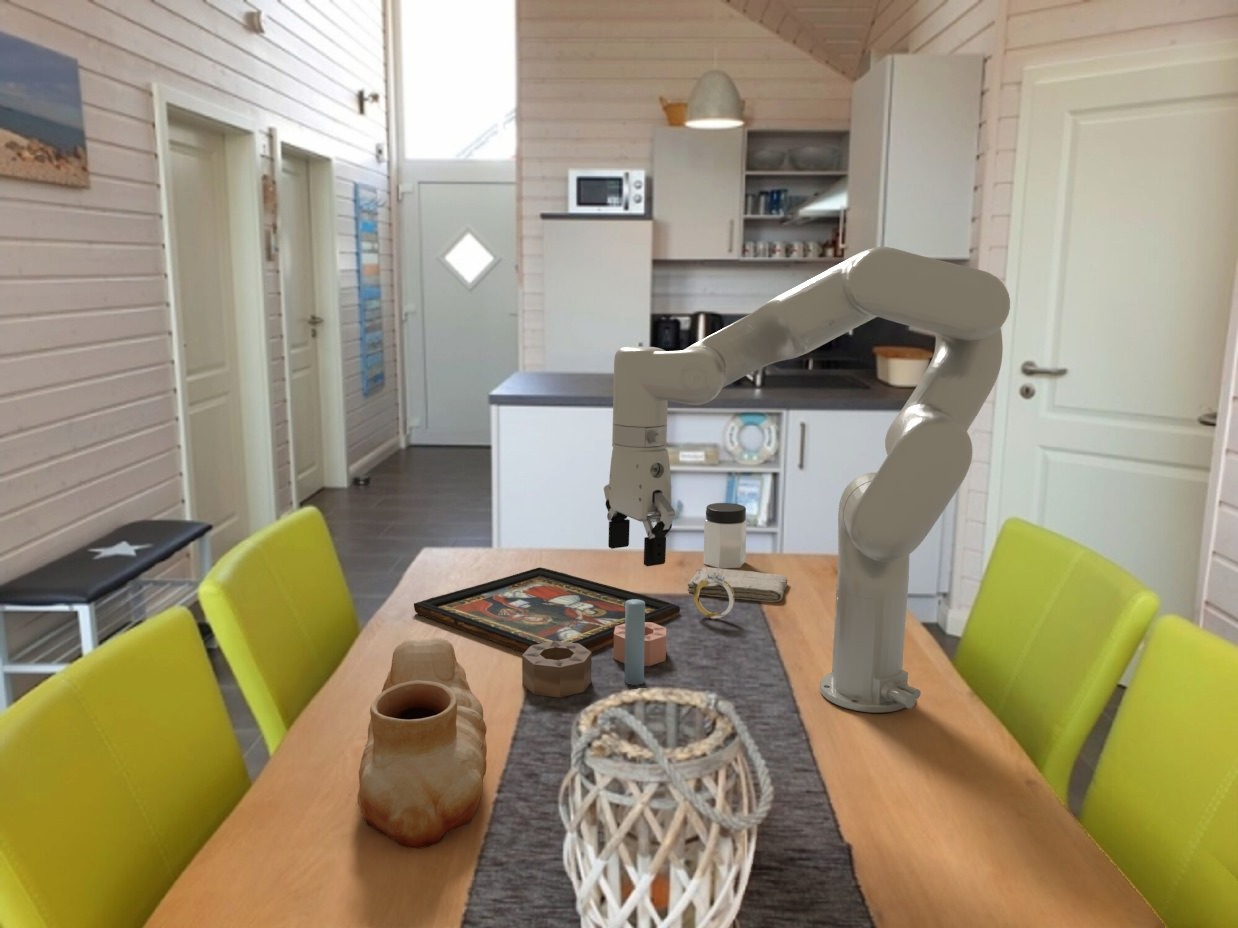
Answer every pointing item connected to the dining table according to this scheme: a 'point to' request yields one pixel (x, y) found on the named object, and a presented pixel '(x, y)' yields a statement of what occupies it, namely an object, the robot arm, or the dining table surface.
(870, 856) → the dining table surface
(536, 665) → the bead
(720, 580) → the ring
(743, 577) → the washcloth
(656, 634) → the pink octagonal nut
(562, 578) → the religious icon
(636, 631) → the dowel
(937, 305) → the robot arm
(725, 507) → the jar
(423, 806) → the ceramic vessel
